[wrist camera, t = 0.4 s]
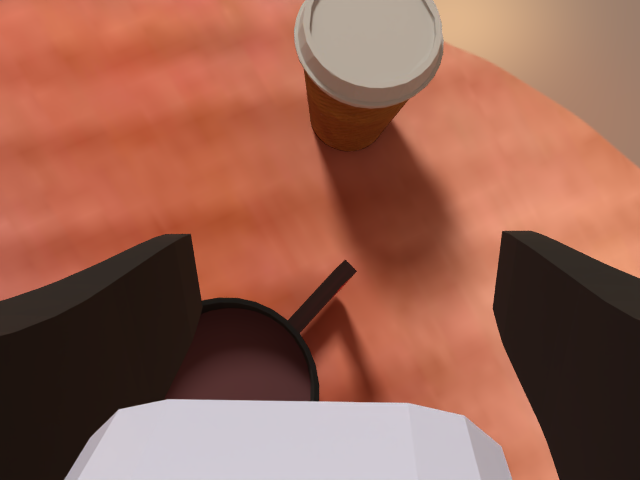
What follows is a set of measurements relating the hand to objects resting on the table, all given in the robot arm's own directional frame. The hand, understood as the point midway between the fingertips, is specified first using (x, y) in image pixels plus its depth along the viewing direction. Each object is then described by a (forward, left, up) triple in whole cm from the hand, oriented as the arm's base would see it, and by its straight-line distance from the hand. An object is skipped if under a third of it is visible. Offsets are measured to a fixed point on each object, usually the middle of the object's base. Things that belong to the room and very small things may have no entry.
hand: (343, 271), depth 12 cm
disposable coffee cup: (+18, -3, -27) cm, 33 cm away
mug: (-2, +3, -27) cm, 27 cm away
